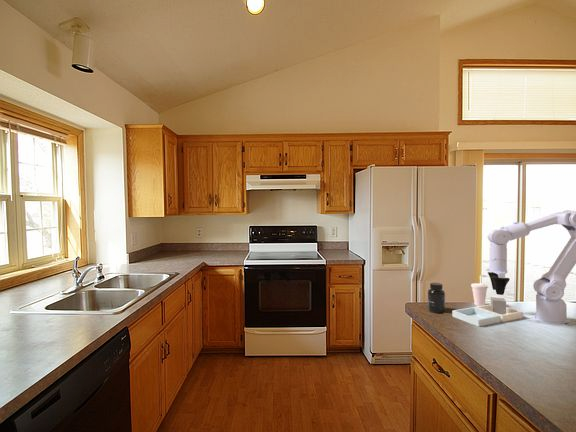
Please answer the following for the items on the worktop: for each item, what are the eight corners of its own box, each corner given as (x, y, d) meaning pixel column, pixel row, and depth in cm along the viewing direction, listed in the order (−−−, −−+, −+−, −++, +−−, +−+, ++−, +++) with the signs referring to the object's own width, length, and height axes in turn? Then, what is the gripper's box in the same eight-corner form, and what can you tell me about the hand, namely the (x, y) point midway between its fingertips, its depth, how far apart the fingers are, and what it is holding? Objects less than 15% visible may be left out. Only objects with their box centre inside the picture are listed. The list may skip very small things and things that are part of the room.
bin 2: (494, 310, 127) (494, 303, 126) (523, 319, 116) (522, 311, 116) (475, 313, 123) (475, 306, 123) (502, 323, 112) (502, 315, 112)
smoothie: (490, 308, 129) (490, 277, 129) (474, 307, 130) (474, 276, 130) (484, 304, 135) (483, 274, 135) (469, 303, 137) (468, 273, 137)
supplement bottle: (426, 311, 127) (426, 284, 127) (429, 307, 132) (428, 281, 132) (444, 314, 123) (443, 286, 123) (446, 310, 128) (445, 283, 128)
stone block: (490, 312, 122) (490, 297, 122) (503, 314, 120) (503, 298, 120) (492, 316, 118) (492, 300, 118) (506, 317, 116) (506, 301, 116)
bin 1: (473, 314, 123) (473, 307, 123) (500, 323, 112) (500, 315, 112) (452, 317, 119) (452, 310, 119) (478, 328, 108) (478, 320, 108)
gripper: (483, 255, 127) (483, 286, 127) (489, 261, 114) (489, 295, 114) (503, 256, 124) (503, 288, 124) (511, 262, 111) (511, 297, 111)
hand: (497, 292), depth 119 cm, fingers open, 7 cm apart
